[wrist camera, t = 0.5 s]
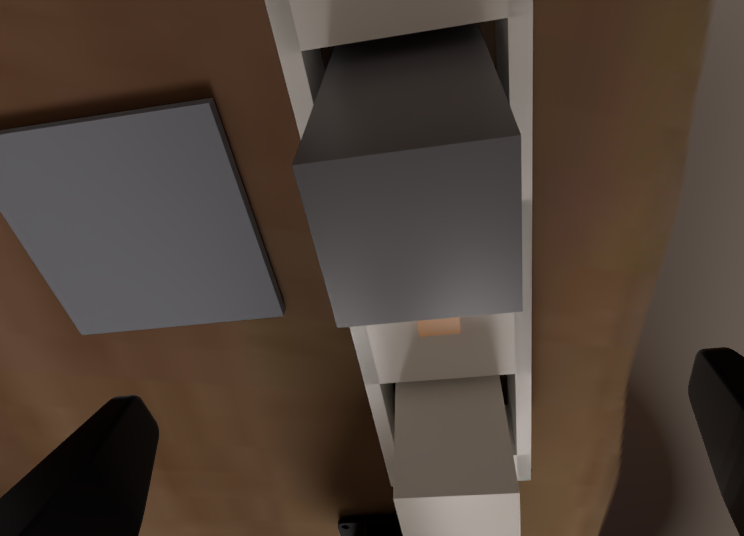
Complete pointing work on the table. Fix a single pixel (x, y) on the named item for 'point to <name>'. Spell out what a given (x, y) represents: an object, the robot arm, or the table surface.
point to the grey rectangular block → (414, 180)
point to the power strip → (514, 330)
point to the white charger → (454, 459)
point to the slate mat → (138, 219)
